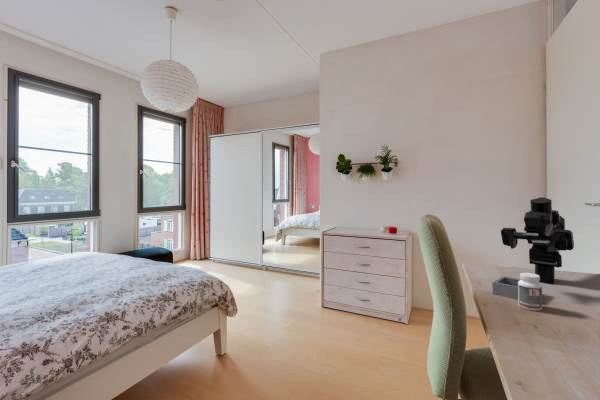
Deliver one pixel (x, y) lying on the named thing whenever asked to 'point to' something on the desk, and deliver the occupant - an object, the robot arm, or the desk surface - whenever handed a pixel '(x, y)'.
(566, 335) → the desk surface
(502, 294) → the bottle holder
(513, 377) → the desk surface
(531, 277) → the pill bottle
